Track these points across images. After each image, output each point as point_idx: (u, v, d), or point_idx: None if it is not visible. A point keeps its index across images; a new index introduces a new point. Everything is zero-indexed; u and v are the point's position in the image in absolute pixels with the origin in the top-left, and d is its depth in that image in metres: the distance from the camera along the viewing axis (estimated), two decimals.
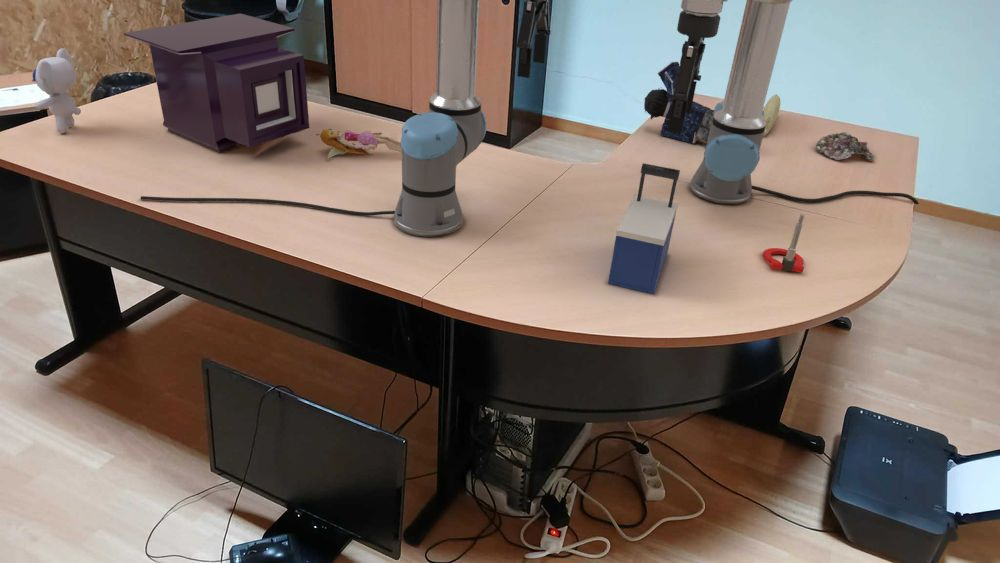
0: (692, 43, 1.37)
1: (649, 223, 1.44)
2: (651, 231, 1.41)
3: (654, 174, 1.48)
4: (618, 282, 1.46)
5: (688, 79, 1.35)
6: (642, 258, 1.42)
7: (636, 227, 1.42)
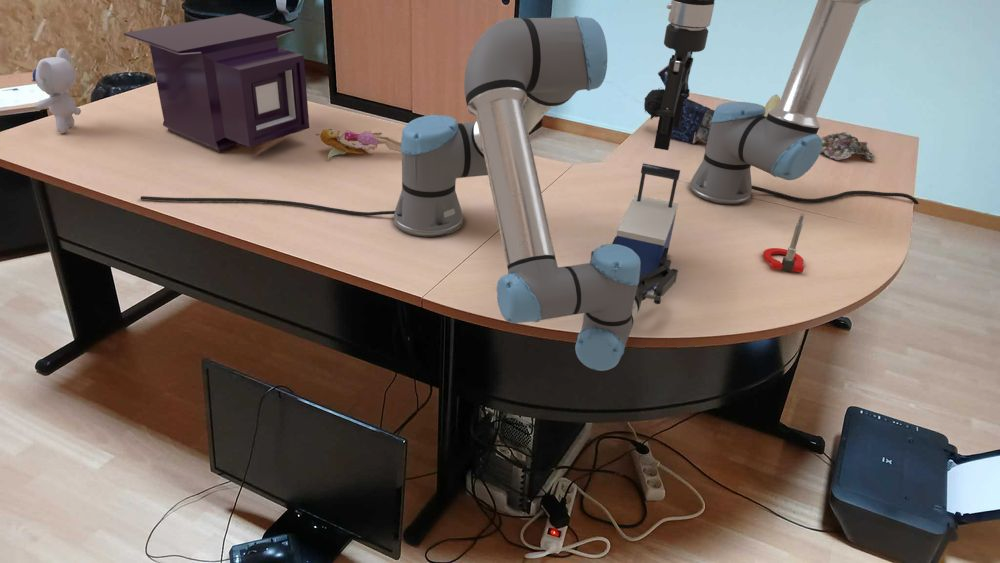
0: None
1: (650, 223, 1.44)
2: (651, 231, 1.41)
3: (654, 174, 1.48)
4: None
5: None
6: (642, 258, 1.42)
7: (636, 227, 1.42)
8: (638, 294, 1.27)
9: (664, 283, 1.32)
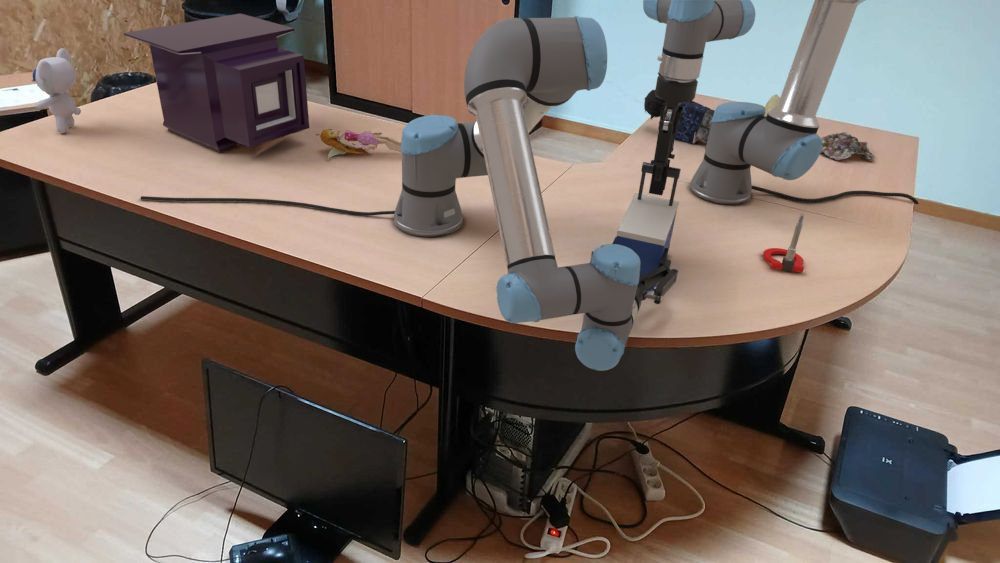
0: None
1: (650, 222, 1.44)
2: (652, 231, 1.41)
3: None
4: None
5: None
6: (643, 258, 1.42)
7: (637, 227, 1.42)
8: (638, 294, 1.27)
9: (664, 283, 1.32)
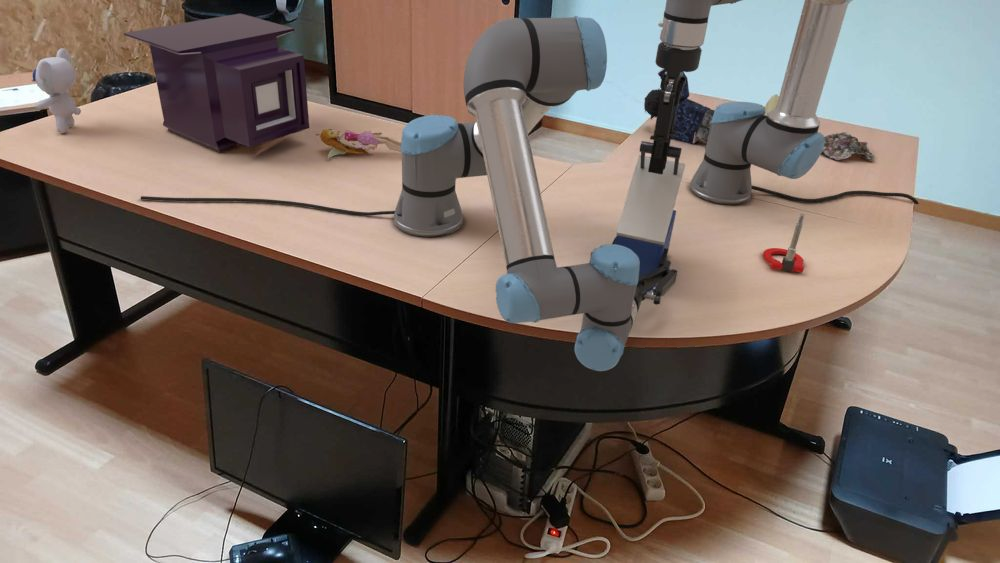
0: None
1: (651, 212, 1.41)
2: (651, 227, 1.39)
3: None
4: None
5: None
6: (642, 259, 1.42)
7: (636, 223, 1.40)
8: (637, 294, 1.27)
9: (664, 284, 1.32)
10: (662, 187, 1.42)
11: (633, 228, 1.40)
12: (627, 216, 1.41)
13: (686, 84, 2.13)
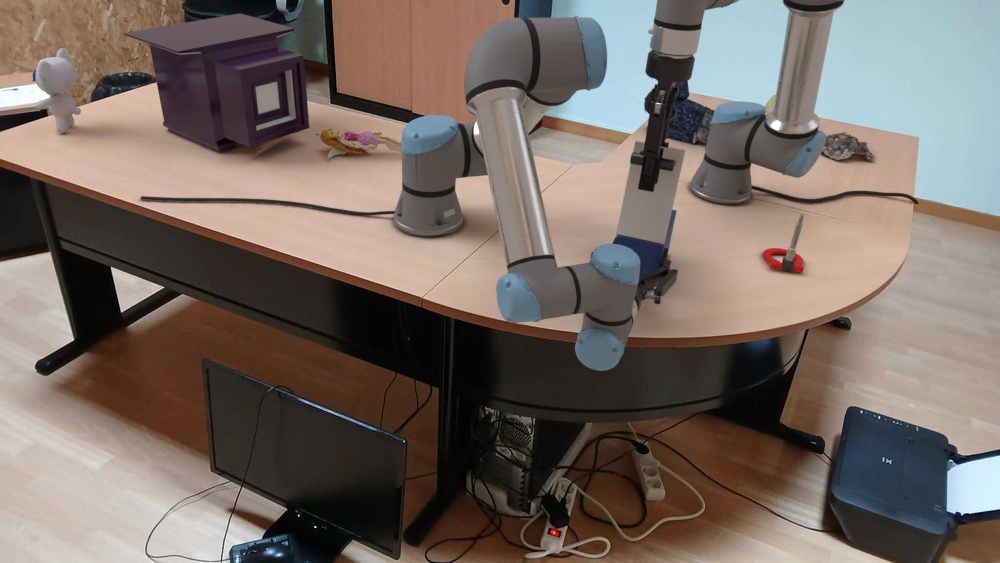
0: None
1: (650, 210, 1.37)
2: (651, 228, 1.38)
3: None
4: None
5: None
6: (642, 258, 1.42)
7: (635, 223, 1.39)
8: (638, 294, 1.27)
9: (664, 283, 1.32)
10: (661, 180, 1.36)
11: (632, 229, 1.39)
12: (626, 215, 1.39)
13: (686, 84, 2.13)
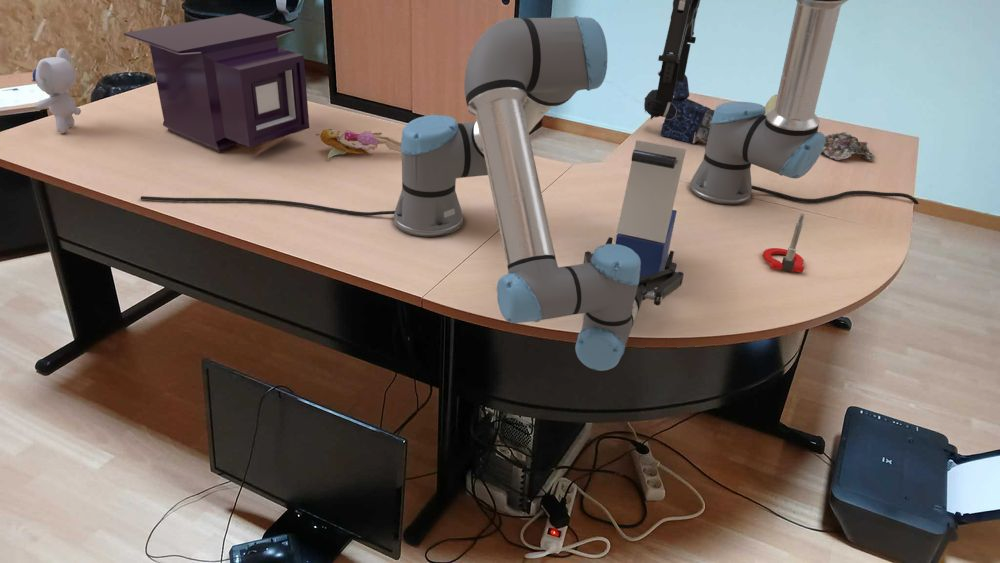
0: None
1: (650, 209, 1.38)
2: (651, 227, 1.38)
3: None
4: None
5: None
6: (643, 258, 1.42)
7: (636, 222, 1.39)
8: (638, 294, 1.27)
9: (666, 285, 1.32)
10: (661, 179, 1.36)
11: (633, 228, 1.39)
12: (626, 214, 1.39)
13: (686, 84, 2.13)
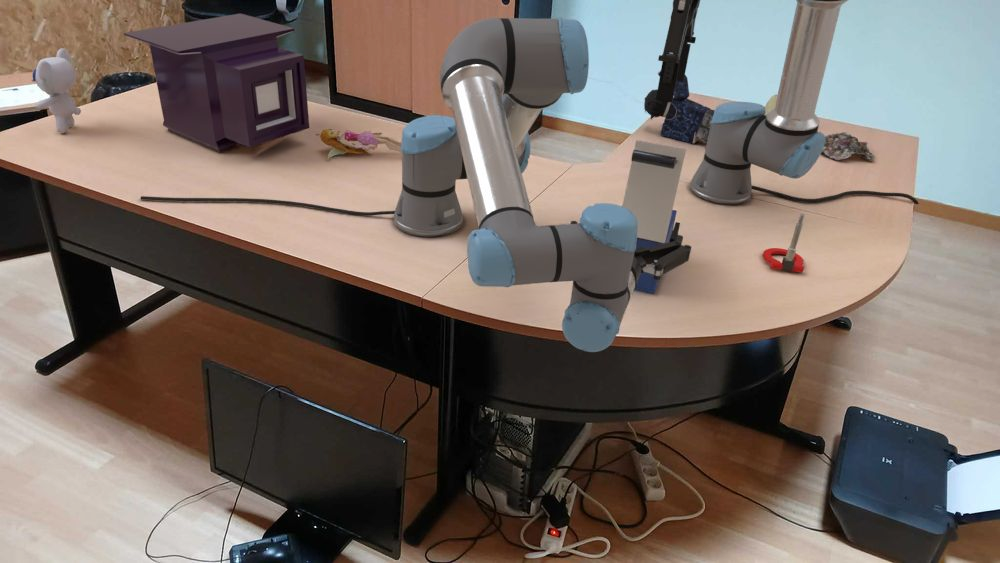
0: None
1: (650, 209, 1.38)
2: (651, 227, 1.38)
3: None
4: None
5: None
6: None
7: None
8: (636, 266, 1.11)
9: (669, 258, 1.15)
10: (661, 179, 1.36)
11: None
12: None
13: (686, 84, 2.13)
